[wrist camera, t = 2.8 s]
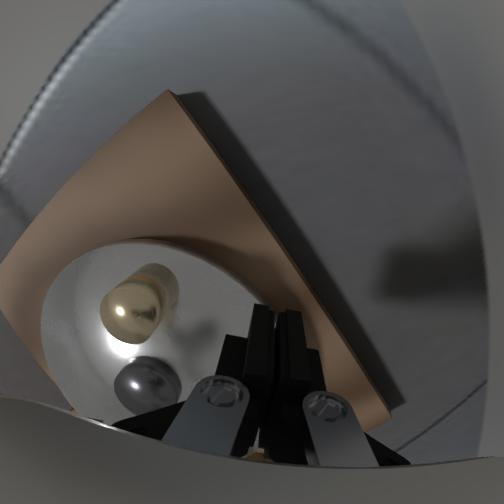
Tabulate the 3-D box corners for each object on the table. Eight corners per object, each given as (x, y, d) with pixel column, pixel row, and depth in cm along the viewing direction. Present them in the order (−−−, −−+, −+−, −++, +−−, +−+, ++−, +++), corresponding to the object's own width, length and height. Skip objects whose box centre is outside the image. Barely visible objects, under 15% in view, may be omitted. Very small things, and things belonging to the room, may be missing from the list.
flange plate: (343, 404, 18) (355, 460, 13) (151, 473, 21) (134, 514, 17) (176, 174, 15) (135, 179, 10) (14, 325, 18) (-26, 354, 14)
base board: (387, 404, 20) (406, 457, 15) (179, 482, 24) (166, 525, 19) (176, 94, 16) (136, 70, 11) (-2, 279, 20) (-46, 303, 15)
